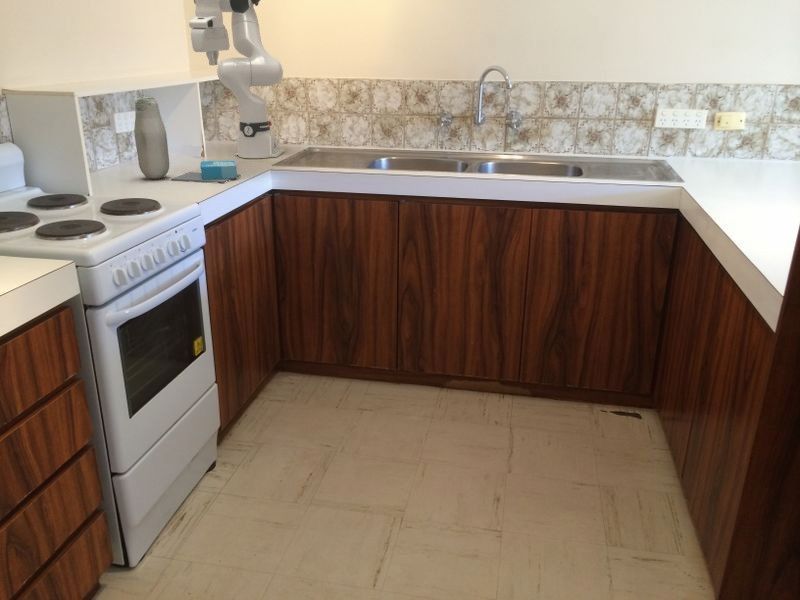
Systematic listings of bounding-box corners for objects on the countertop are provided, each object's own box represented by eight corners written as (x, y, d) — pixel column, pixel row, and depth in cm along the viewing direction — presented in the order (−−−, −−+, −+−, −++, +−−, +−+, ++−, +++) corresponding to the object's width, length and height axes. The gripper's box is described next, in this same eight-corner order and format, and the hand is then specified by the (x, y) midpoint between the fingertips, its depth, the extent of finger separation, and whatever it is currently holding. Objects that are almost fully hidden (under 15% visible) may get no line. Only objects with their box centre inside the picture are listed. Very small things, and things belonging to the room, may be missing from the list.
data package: (234, 159, 244) (236, 165, 233) (235, 172, 246) (237, 178, 235) (200, 161, 241) (200, 167, 230) (201, 173, 243) (202, 180, 232)
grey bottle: (144, 175, 241) (133, 94, 231) (174, 175, 242) (164, 94, 232) (137, 181, 232) (125, 97, 222) (167, 181, 233) (157, 96, 223)
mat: (190, 173, 246) (189, 172, 246) (240, 176, 242) (240, 174, 241) (170, 180, 234) (170, 178, 234) (223, 183, 230) (223, 181, 230)
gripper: (215, 22, 239) (219, 63, 244) (186, 22, 221) (190, 66, 226) (232, 22, 238) (235, 63, 243) (203, 22, 219) (207, 67, 225)
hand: (213, 65), depth 234 cm, fingers closed
